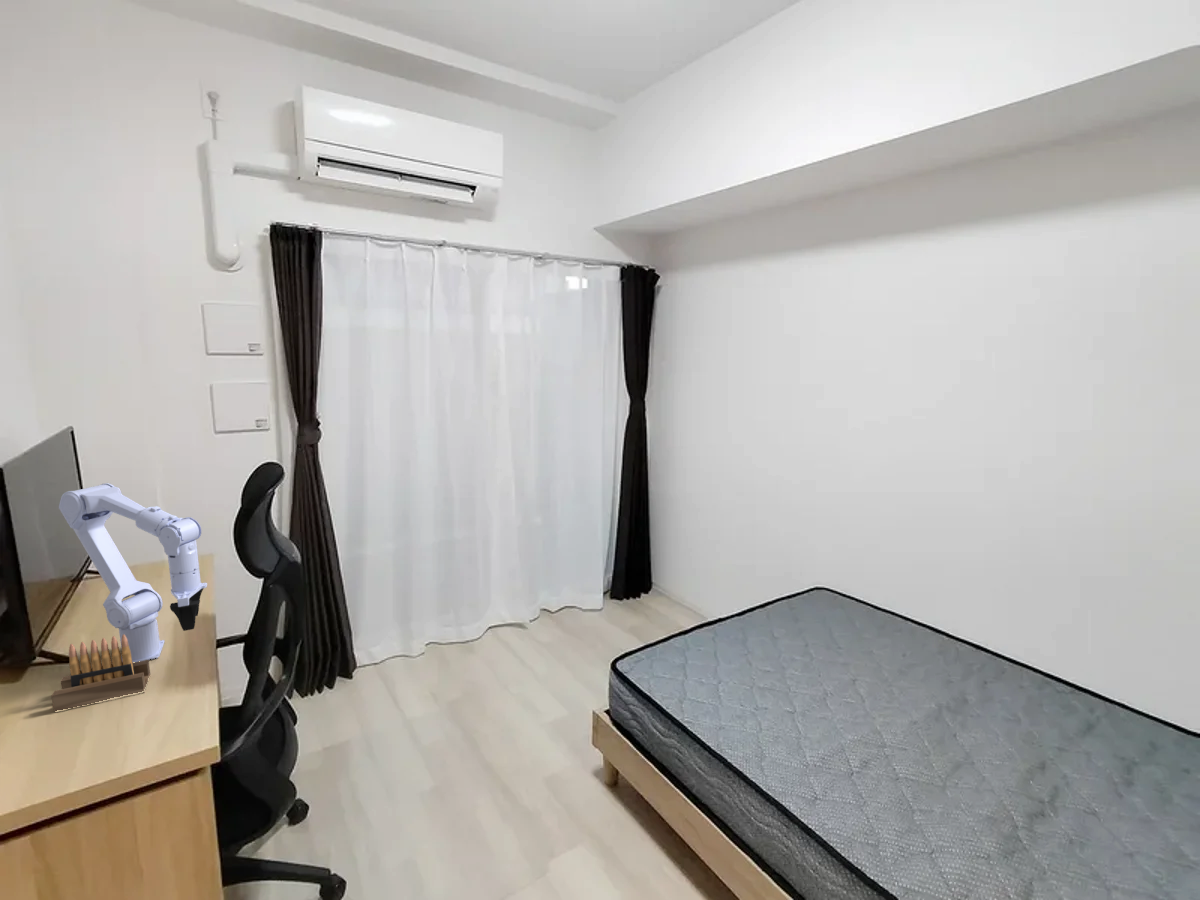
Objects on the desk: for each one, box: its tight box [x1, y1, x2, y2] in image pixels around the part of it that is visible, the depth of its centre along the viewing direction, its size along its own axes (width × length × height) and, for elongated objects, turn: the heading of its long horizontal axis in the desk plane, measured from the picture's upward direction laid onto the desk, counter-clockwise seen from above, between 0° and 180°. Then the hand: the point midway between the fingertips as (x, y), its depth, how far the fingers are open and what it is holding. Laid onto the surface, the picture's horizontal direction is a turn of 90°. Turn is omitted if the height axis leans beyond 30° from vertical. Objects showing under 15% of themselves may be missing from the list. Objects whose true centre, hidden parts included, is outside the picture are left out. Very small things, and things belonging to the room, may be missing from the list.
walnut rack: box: [51, 660, 151, 712], centre depth 127 cm, size 8×15×4 cm, turn 120°
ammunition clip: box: [68, 634, 135, 687], centre depth 126 cm, size 11×2×12 cm, turn 120°
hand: (190, 622), depth 138 cm, fingers open, 7 cm apart
